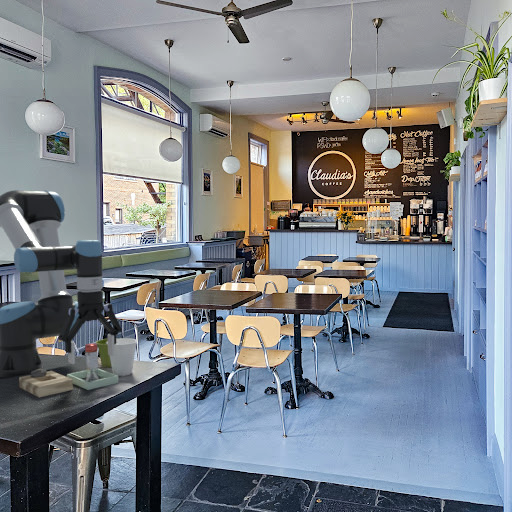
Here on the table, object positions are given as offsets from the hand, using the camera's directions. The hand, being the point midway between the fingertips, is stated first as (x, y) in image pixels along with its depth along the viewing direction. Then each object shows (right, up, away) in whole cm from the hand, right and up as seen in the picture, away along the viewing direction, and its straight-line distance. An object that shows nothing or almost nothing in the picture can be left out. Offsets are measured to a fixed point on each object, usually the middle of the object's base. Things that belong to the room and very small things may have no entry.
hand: (92, 359), depth 168 cm
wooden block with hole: (-12, -9, -6) cm, 16 cm away
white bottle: (0, -7, 0) cm, 7 cm away
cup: (+6, -7, +12) cm, 16 cm away
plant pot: (-1, -7, +24) cm, 25 cm away
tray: (0, -8, 0) cm, 8 cm away
